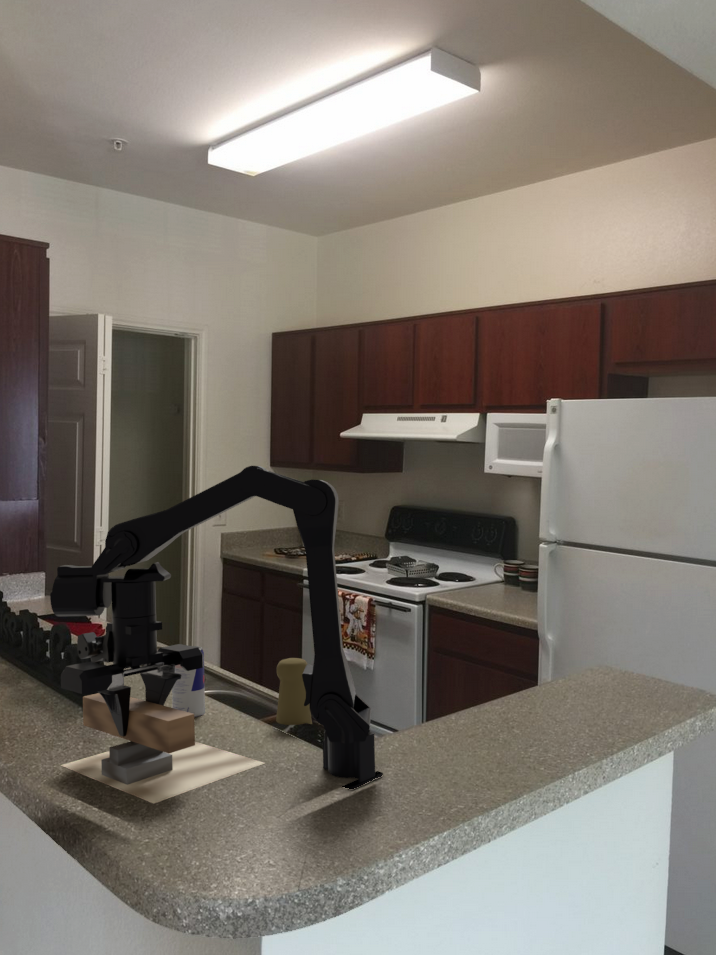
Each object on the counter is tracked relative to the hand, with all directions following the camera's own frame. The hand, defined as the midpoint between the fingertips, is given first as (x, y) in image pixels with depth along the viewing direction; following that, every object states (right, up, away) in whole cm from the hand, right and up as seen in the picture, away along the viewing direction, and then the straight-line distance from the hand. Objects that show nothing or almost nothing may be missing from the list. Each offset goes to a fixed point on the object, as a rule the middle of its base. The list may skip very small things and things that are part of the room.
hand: (136, 731), depth 110 cm
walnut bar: (0, 0, 0) cm, 0 cm away
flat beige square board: (+3, -7, +3) cm, 8 cm away
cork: (+19, -7, +23) cm, 31 cm away
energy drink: (+1, -7, +28) cm, 29 cm away
